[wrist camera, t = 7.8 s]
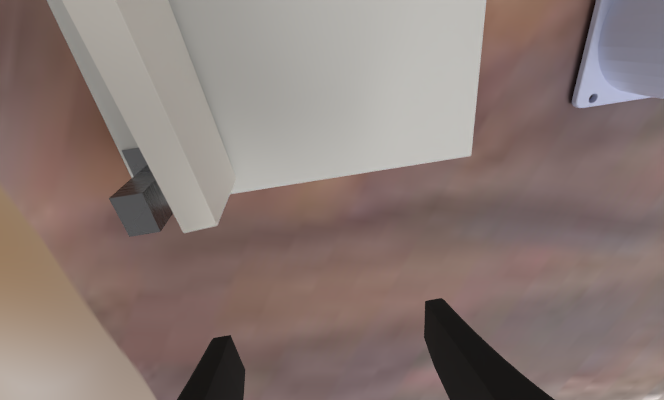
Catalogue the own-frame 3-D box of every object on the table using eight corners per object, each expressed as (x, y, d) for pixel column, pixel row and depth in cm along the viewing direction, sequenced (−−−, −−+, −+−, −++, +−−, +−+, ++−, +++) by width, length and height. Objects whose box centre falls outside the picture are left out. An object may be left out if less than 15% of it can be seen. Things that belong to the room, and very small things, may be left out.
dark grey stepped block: (184, 138, 17) (146, 174, 13) (204, 195, 19) (177, 243, 15) (125, 147, 17) (67, 186, 13) (152, 203, 19) (108, 255, 14)
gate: (-13, -270, 10) (-419, -670, 4) (85, -291, 10) (-189, -719, 4) (196, 187, 18) (151, 257, 12) (250, 175, 18) (230, 240, 12)
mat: (512, -327, 11) (519, -338, 11) (467, 153, 20) (471, 155, 19) (-73, -266, 10) (-87, -277, 10) (148, 204, 19) (145, 207, 19)
